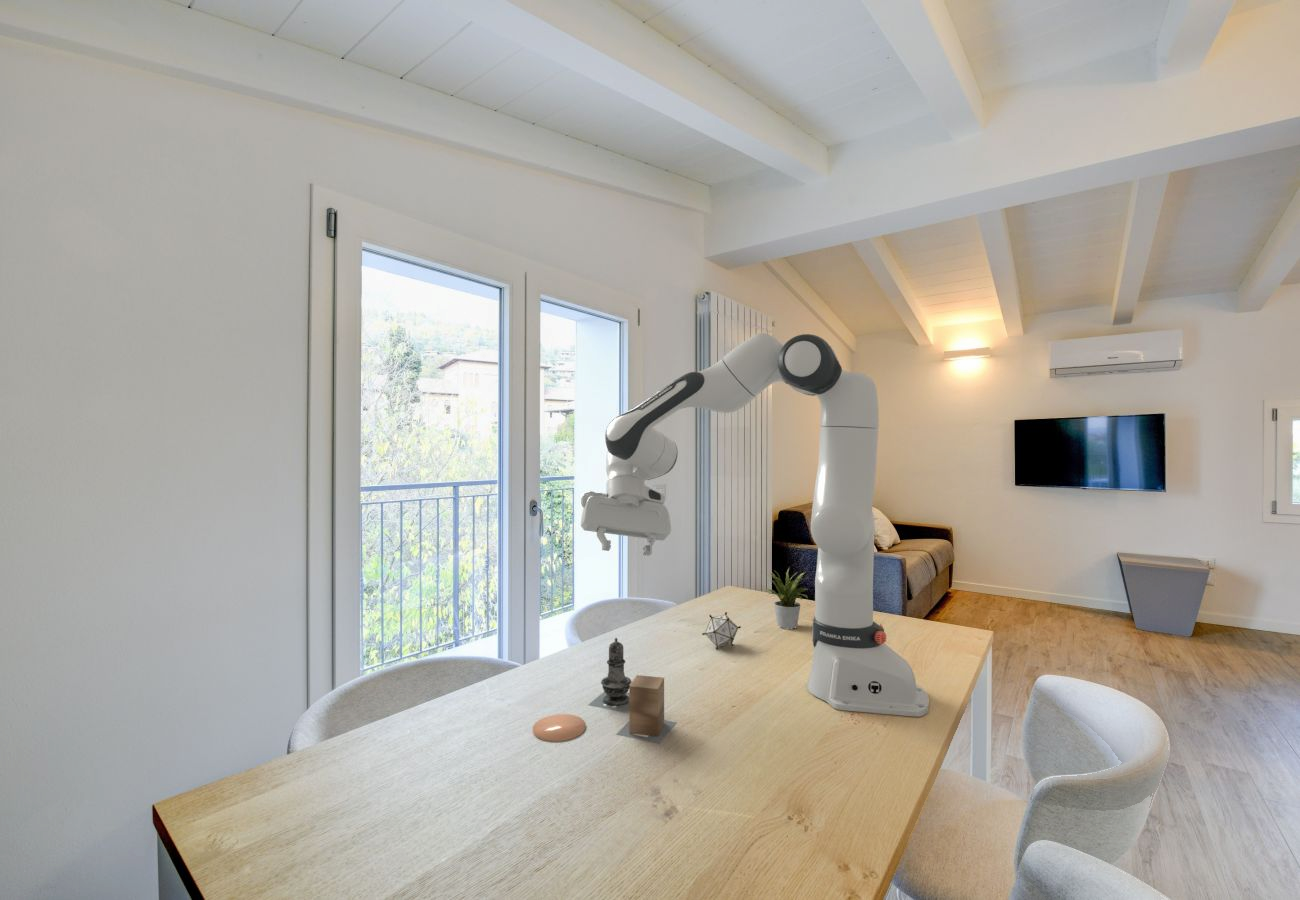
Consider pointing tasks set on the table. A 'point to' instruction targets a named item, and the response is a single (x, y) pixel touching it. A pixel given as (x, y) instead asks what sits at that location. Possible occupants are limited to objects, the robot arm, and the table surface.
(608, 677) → the salt shaker
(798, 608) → the house plant
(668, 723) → the tile block
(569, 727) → the coaster
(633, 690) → the walnut block
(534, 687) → the table surface
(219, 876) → the table surface
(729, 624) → the white icosahedron model
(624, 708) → the grey marker tile
